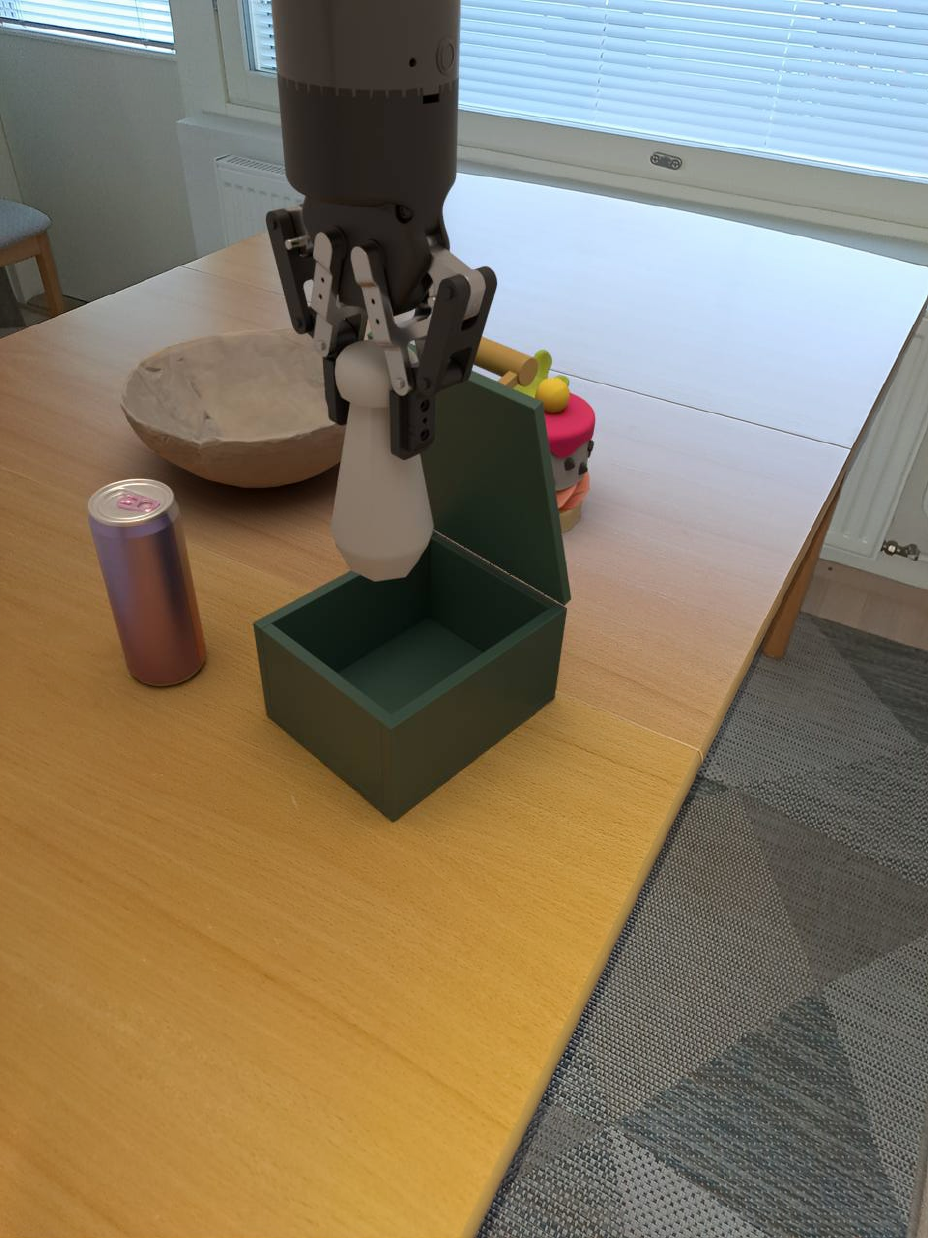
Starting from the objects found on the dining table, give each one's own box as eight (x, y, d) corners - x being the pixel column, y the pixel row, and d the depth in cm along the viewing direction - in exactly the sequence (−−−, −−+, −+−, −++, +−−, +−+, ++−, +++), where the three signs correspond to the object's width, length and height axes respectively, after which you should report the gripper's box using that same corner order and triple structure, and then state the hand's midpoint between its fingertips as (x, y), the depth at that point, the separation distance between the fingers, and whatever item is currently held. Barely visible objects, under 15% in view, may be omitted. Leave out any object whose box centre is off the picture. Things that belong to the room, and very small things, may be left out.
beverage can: (180, 698, 68) (143, 531, 59) (112, 678, 70) (65, 512, 60) (222, 649, 73) (193, 486, 63) (156, 631, 74) (119, 469, 65)
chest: (393, 823, 60) (391, 729, 54) (266, 715, 67) (252, 622, 62) (555, 698, 70) (567, 607, 64) (428, 615, 77) (430, 527, 71)
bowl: (79, 496, 89) (53, 402, 83) (229, 388, 108) (218, 305, 102) (317, 561, 82) (309, 463, 76) (432, 434, 102) (433, 347, 95)
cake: (605, 511, 90) (627, 368, 81) (535, 553, 84) (550, 404, 75) (526, 471, 96) (538, 333, 86) (455, 508, 90) (460, 363, 80)
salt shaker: (443, 583, 52) (448, 368, 44) (344, 597, 51) (330, 379, 43) (418, 527, 57) (419, 322, 48) (326, 539, 55) (310, 330, 47)
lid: (534, 409, 50) (593, 356, 52) (366, 334, 57) (423, 290, 59) (564, 606, 64) (610, 559, 65) (426, 526, 71) (471, 485, 73)
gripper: (192, 47, 39) (241, 411, 50) (422, 103, 32) (421, 516, 43) (328, 34, 43) (346, 372, 54) (559, 80, 36) (526, 462, 47)
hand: (379, 434), depth 48 cm, fingers closed on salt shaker, 4 cm apart
